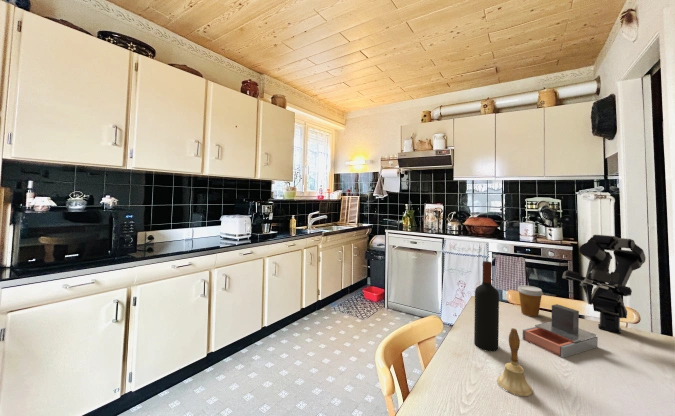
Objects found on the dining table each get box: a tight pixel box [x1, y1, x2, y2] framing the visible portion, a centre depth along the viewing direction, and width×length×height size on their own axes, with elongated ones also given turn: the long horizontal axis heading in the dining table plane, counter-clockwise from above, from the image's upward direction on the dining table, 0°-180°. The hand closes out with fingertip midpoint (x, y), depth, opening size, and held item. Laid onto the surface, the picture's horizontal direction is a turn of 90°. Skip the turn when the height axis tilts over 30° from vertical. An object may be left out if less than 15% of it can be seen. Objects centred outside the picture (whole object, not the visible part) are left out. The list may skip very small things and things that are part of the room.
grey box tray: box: [522, 326, 599, 359], centre depth 98 cm, size 19×13×4 cm
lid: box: [534, 303, 597, 342], centre depth 99 cm, size 13×13×9 cm
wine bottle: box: [473, 260, 500, 352], centre depth 96 cm, size 8×8×30 cm
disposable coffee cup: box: [517, 284, 544, 318], centre depth 124 cm, size 10×10×12 cm
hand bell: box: [496, 328, 534, 397], centre depth 75 cm, size 8×8×16 cm
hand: (589, 304), depth 102 cm, fingers closed
